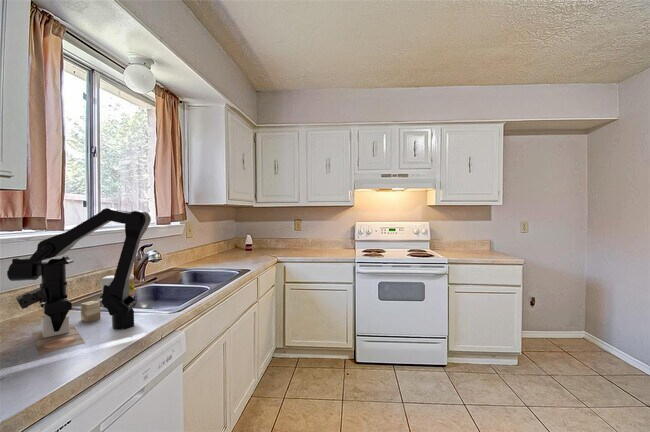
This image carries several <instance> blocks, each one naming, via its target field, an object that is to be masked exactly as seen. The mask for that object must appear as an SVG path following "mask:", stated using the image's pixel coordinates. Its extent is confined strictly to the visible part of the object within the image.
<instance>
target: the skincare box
mask: <svg viewBox="0 0 650 432" xmlns="http://www.w3.org/2000/svg"><path fill="white" fill-rule="evenodd" d="M114 276H115V274H114V275H106V276H104V277H102V278H101V279H100V281H101V282H100V283H101V295H102V294H103V288H104V285H106V284H107V283H109V282H111V281H113V279H114ZM101 305H102V304H101ZM102 308H105V307H104V306H103V305H102Z"/></svg>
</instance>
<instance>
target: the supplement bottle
mask: <svg viewBox="0 0 650 432" xmlns="http://www.w3.org/2000/svg"><path fill="white" fill-rule="evenodd" d="M132 270H133V269H132ZM132 270H131V274H130V277H129V285H130V290H129V295H130V296H131V297H133V298H134V297H135V275H134V274H133V273H132Z"/></svg>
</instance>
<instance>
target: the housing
mask: <svg viewBox="0 0 650 432" xmlns="http://www.w3.org/2000/svg"><path fill="white" fill-rule="evenodd" d="M40 319H41V321H40V323H41V325H40V326H41V328H40V329H41V330H42V335H43V338H45V337H50V336H54V335H59V334H63V333H68V332H69V324H70V321H69V320H70V319H69V314H67V316H66V317H65V320H64V322H63V324H62V326H61V328H60V330H59V331H57V332H54V329H53V325H52V322H51V318H50V316H48V315H43V316H41V317H40Z"/></svg>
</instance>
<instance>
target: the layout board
mask: <svg viewBox="0 0 650 432" xmlns="http://www.w3.org/2000/svg"><path fill="white" fill-rule="evenodd" d="M31 333H32V336H33V340H34V343H35V346H36V350H37V354H38V355H42V354H48V353H50V352H54V351H55V352H56V351H58V350H64V349H66V348H70V347H75V346H79V345H83V344H86V341H85V340H84V338H83V337H82V336H81V334H80V333H79V331H78V330H77V328H76V327H75V325H74V324H73V323H71V324H70V323H69V332H68V333H63V334H59V335H54V336H50V337H45V338H43V335H42V330H37V331H36V330H35V331H32V332H31Z"/></svg>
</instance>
